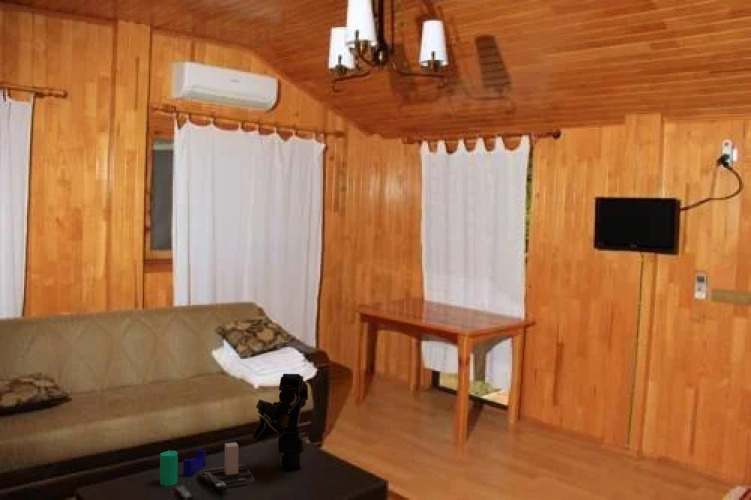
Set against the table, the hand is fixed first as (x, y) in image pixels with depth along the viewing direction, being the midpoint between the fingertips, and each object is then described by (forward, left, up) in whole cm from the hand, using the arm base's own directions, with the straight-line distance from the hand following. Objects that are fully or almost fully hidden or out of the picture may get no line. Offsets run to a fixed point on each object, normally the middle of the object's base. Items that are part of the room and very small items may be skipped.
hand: (255, 438), depth 245 cm
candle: (+30, -5, -14) cm, 33 cm away
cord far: (+9, -8, -14) cm, 18 cm away
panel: (+9, 0, -14) cm, 16 cm away
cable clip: (+20, -14, -14) cm, 28 cm away
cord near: (+8, +8, -14) cm, 17 cm away
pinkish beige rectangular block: (+9, 0, -12) cm, 15 cm away
